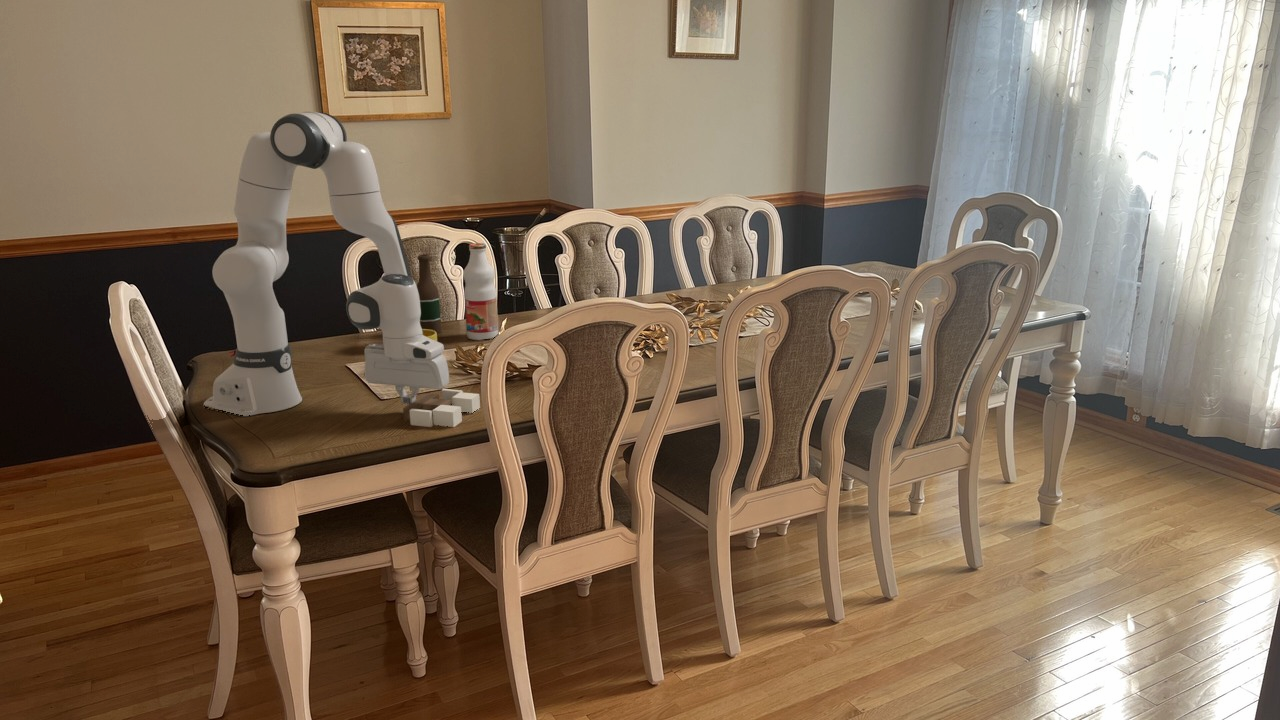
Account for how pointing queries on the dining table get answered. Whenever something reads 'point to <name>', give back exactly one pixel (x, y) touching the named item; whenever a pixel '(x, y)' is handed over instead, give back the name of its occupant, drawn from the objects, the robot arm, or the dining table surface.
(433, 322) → the beer bottle
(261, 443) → the dining table surface
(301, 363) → the dining table surface
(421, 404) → the walnut T block
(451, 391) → the cream T dock
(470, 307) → the fruit juice
